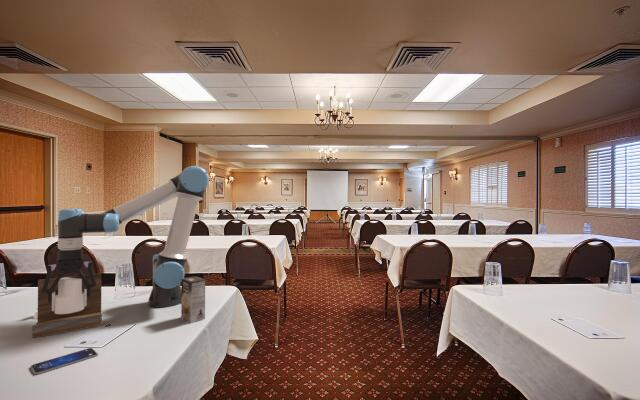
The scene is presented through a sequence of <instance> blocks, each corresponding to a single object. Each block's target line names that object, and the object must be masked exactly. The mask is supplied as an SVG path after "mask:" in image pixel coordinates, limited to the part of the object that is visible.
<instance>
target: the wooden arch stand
mask: <svg viewBox="0 0 640 400" xmlns="http://www.w3.org/2000/svg"><path fill="white" fill-rule="evenodd" d="M83 275H84V276H85V278H86V279H87V281H88V283H89V284H91V279H90V276H89V274H83ZM93 275H94V278H95V282H96V286H94V287H91V289H90V297H87V306H84V309H83V310H81V311H78V312H74V313H69V314H55V311H52V302H48V293H45V292H44V293H43V292H42V288H43V285H44V282H45V278H42V279H37V308H38V310H37V312H38V319H37V322H36V324H35V325H32V326H31V329H32V331H31V338H32V339H33V338H34V339H35V338H39V337H45V336H49V335H55V334H63V333H68V332H72V331H77V330H83V329H89V328H95V327H100V326H102V325H103V324H102V323H103V318H102V317H103V314H102V272H101V273H100V272H99V273H93ZM65 277H66V276H62V277H61V278H65ZM68 277H69V278H78V279H80V277H79V276H78V275H71V276H70V275H69V276H68ZM56 278H57V277H54V278H51V277H50V280H49V284H48V287H47V289H50V288H51V286H52V284H53V283H54V281H55V280H56ZM84 288H86V286H85V285H84V283H83V282H82V292H84ZM53 292H55V296H56V295H58V284H57V285H56V287H55V288H54V290H53Z"/></svg>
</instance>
